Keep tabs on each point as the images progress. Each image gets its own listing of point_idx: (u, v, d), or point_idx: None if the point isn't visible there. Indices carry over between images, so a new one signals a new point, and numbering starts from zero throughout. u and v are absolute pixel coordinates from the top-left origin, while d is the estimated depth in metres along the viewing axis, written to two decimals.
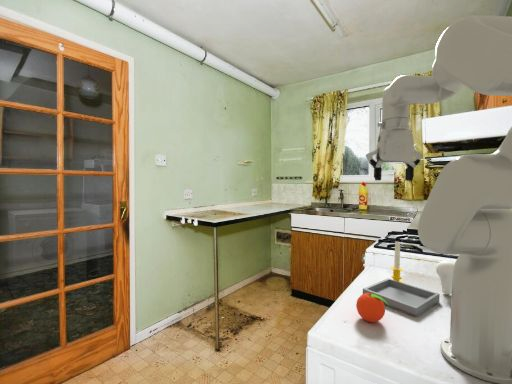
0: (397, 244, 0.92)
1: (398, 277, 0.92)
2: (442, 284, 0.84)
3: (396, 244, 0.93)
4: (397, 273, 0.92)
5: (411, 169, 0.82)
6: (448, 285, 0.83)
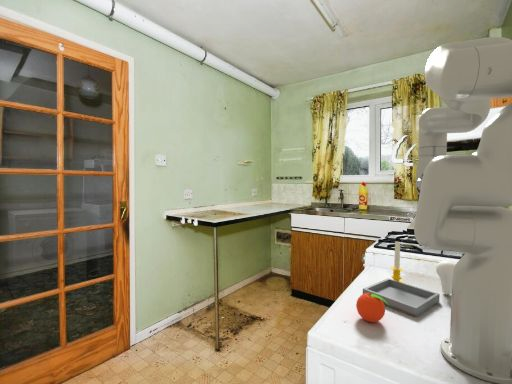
0: (397, 244, 0.92)
1: (398, 277, 0.92)
2: (442, 284, 0.84)
3: (396, 244, 0.93)
4: (397, 273, 0.92)
5: None
6: (448, 285, 0.83)
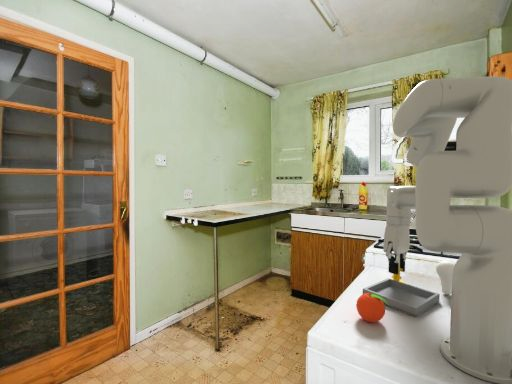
0: None
1: (398, 277, 0.92)
2: (442, 284, 0.84)
3: None
4: None
5: None
6: (448, 285, 0.83)
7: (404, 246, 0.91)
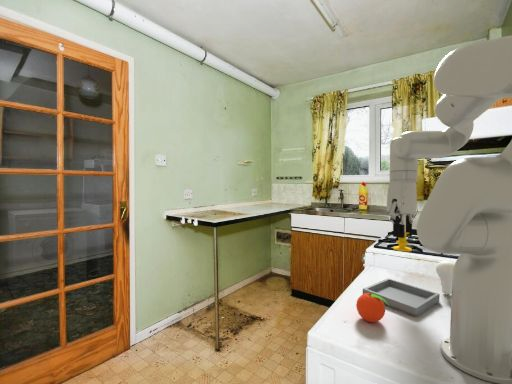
0: None
1: (404, 242, 0.80)
2: (442, 284, 0.84)
3: None
4: None
5: None
6: (448, 285, 0.83)
7: (410, 206, 0.79)
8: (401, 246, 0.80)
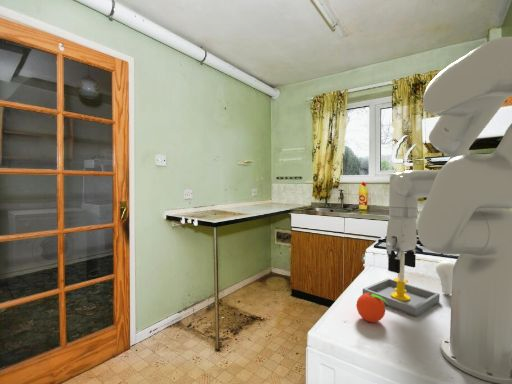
0: (401, 252, 0.80)
1: (402, 290, 0.79)
2: (442, 284, 0.84)
3: None
4: (401, 286, 0.79)
5: None
6: (448, 285, 0.83)
7: (410, 243, 0.78)
8: (399, 294, 0.80)
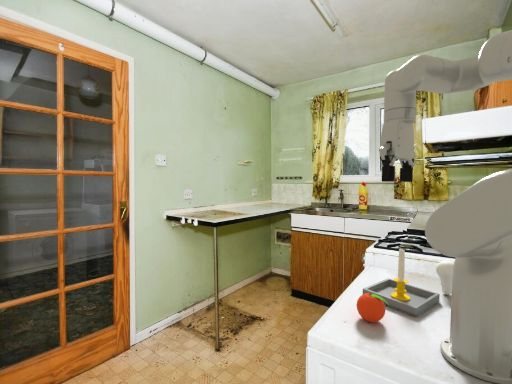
0: (401, 252, 0.79)
1: (402, 290, 0.79)
2: (442, 284, 0.84)
3: (400, 252, 0.80)
4: (401, 286, 0.79)
5: None
6: (448, 285, 0.83)
7: (407, 150, 0.69)
8: (399, 294, 0.80)
